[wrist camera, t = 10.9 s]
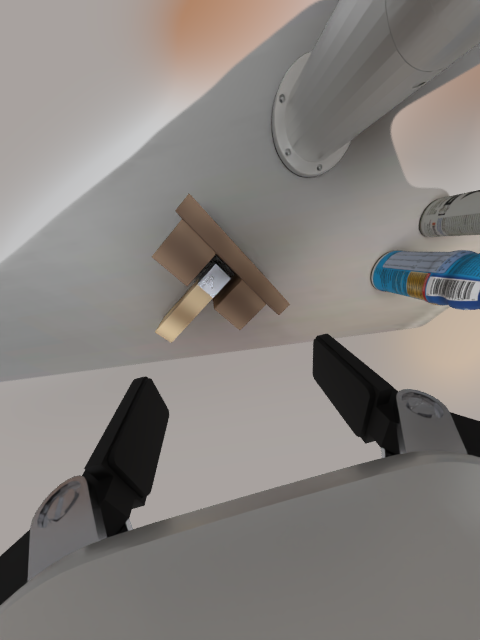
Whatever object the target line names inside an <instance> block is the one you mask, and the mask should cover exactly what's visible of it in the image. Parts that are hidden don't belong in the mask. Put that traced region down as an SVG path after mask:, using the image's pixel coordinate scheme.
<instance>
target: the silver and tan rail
mask: <svg viewBox="0 0 480 640" xmlns="http://www.w3.org/2000/svg"><path fill="white" fill-rule="evenodd" d="M230 279H231V278H230V277H229V276H228V274H227V273H226V272H225V271H224V270H223V269H222V268H221V267H220V266H219V265H218V264H217V263H216V262H215V261H214V262H213V263H212V264H211V265H210V266H209V267H208V268H207V270H206V271H205V272H204V273H203V274H202V275H201V276H200V277H199V279H198V280H197V281H196V282H195V283H194V284H193V285H192V286H191V288H190V289H189V290H188V291H187V292H186V293H185V294H184V295H183V297H182V298H181V299H180V300H179V301H178V302H177V303H176V304H175V306H174V307H173V308H172V309H171V310H170V311H169V312H168V313H167V315H166V316H165V317H164V318H163V320H162V321H161V323H160V324H159V326H158V328H157V329H156V331H155V333H157V334H158V335H160V336H162V337H163V338H165V339H166V340H168V341H169V342H171V343H172V342H173V341H174V339H175V338H176V337H177V336H178V335H179V334H180V333H181V332H182V331H183V330H184V329H185V328H186V327H187V325H188V324H189V323H190V322H191V321H192V320H193V319H194V318H195V317H196V316H197V315H198V314H199V313H200V311H201V310H202V309H203V308H204V307H205V306H206V305H207V304H208V303H209V302H210V301H211V300H212V299H213V297H214V296H215V295H216V294H217V293H218V292H219V291H220V290H221V289H222V288H223V287H224V286H225V285H226V283H227V282H228V281H229V280H230Z"/></svg>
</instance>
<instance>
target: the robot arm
mask: <svg viewBox="0 0 480 640" xmlns="http://www.w3.org/2000/svg"><path fill="white" fill-rule="evenodd" d="M479 43H480V0H339V2H338V4H337V6H336V8H335V9H334V11H333V13H332V15H331V17H330V19H329V21H328V23H327V24H326V26H325V28H324V30H323V32H322V34H321V36H320V37H319V39H318V41H317V43H316V45H315V47H314V49H313V51H311V52H308V53H306V54H304V55H303V56H301V57H299V58H298V59H297V60H296V61H295V62H294V63H293V64H292V65H291V66H290V68H289V69H288V71H287V72H286V74H285V75H284V77H283V80H282V82H281V84H280V86H279V88H278V91H277V94H276V97H275V101H274V106H273V111H272V133H273V138H274V143H275V146H276V149H277V152H278V154H279V156H280V158H281V160H282V161H283V163H284V164H285V165H286V166H287V168H288V169H290V170H291V171H292V172H293V173H295V174H297V175H299V176H303V177H316V176H319V175H321V174H323V173H325V172H327V171H328V170H330V169H331V168H332V167H334V166H335V165H336V164H337V163H338V162H339V161H340V160H341V158H342V157H343V155H344V154H345V152H346V151H347V149H348V147H349V145H350V143H351V140H352V139H353V138H354V137H356V136H357V135H358V134H360V133H361V132H362V131H364V130H365V129H366V128H368V127H369V126H370V125H372V124H373V123H374V122H376V121H377V120H378V119H380V118H381V117H382V116H384V115H385V114H386V113H388V112H389V111H390V110H391V109H393V108H394V107H395V106H397V105H398V104H399V103H401V102H402V101H403V100H405V99H406V98H407V97H409V96H410V95H411V94H413V93H414V92H415V91H417V90H418V89H419V88H421V87H422V86H423V85H425V84H426V83H427V82H429V81H430V80H431V79H433V78H434V77H435V76H437V75H438V74H439V73H441V72H442V71H443V70H445V69H446V68H447V67H449V66H450V65H451V64H453V63H454V62H455V61H456V60H458V59H459V58H460V57H462V56H463V55H464V54H466V53H467V52H468V51H470V50H471V49H472V48H473V47H475V46H476V45H477V44H479ZM280 102H281V103H280ZM286 154H287V156H286ZM313 377H314V379H315V380H316V382H317V383H318V385H319V386H320V387H321V389H322V390H323V391H324V393H325V394H326V395H327V397H328V398H329V399H330V401H331V402H332V404H333V405H334V406H335V408H336V409H337V410H338V412H339V413H340V415H341V416H342V417H343V419H344V420H345V421H346V423H347V424H348V425H349V427H350V428H351V429H352V431H353V432H354V433H355V435H356V436H358V437H361V438H362V440H363V441H364V442H365V443H369V442H373V441H376V442H377V443H378V445H379V446H380V447H381V452H382V458H381V459H377V460H374V461H370V462H366V463H362V464H358V465H354V466H351V467H347V468H343V469H340V470H336V471H333V472H329V473H326V474H322V475H319V476H315V477H311V478H308V479H305V480H301V481H297V482H294V483H290V484H287V485H283V486H280V487H276V488H273V489H269V490H266V491H262V492H259V493H255V494H252V495H248V496H245V497H241V498H238V499H235V500H231V501H228V502H224V503H220V504H217V505H213V506H210V507H207V508H203V509H200V510H196V511H193V512H190V513H186V514H183V515H179V516H176V517H173V518H169V519H166V520H162V521H159V522H155V523H152V524H149V525H146V526H143V527H140V528H136V529H133V528H132V525H131V523H130V520H129V517H130V513H131V510H132V509H133V508H137V507H140V506H144V505H145V501H146V497H147V495H149V494H150V492H151V489H152V485H153V481H154V477H155V472H156V468H157V464H158V460H159V455H160V452H161V447H162V443H163V439H164V435H165V431H166V427H167V423H168V418H169V410H168V409H167V406H166V404H165V403H164V401H163V399H162V397H161V396H160V394H159V392H158V390H157V388H156V386H155V385H154V383H153V381H152V379H150V378H149V379H148V377H141V378H137V379H134V380H133V382H132V384H131V385H130V387H129V389H128V391H127V393H126V394H125V396H124V398H123V400H122V401H121V403H120V405H119V407H118V409H117V410H116V412H115V414H114V416H113V418H112V419H111V421H110V423H109V425H108V427H107V429H106V430H105V432H104V434H103V436H102V437H101V439H100V441H99V443H98V445H97V446H96V448H95V450H94V452H93V454H92V455H91V457H90V459H89V461H88V463H87V465H86V466H85V472H84V473H83V475H82V476H80V475H79V476H74V477H72V478H70V479H68V480H66V481H65V482H63V483H62V484H60V485H59V486H58V487H57V488H56V489H55V490H53V491H52V492H51V493H50V494H49V496H48V497H47V498H46V499H45V500H44V501H43V503H42V504H41V505H40V507H39V508H38V510H37V511H36V513H35V515H34V517H33V519H32V523H31V528H30V530H29V531H28V532H27V533H26V534H24V535H23V536H22V537H21V538H20V539H19V540H18V541H17V542H16V543H15V544H13V545H12V546H11V547H10V548H9V549H8V550H7V551H6V552H5V553H3V554H2V555H1V556H0V640H480V421H477V420H473V419H470V418H467V417H464V416H460V415H457V414H454V413H451V412H449V411H448V409H447V408H446V406H445V405H444V404H443V403H442V402H440V401H439V400H438V399H436V398H435V397H433V396H431V395H429V394H427V393H424V392H421V391H418V390H412V389H404V390H401V391H399V392H398V391H397V390H396V389H394V388H393V387H392V386H391V385H390V384H389V383H388V382H386V381H385V380H384V379H383V378H381V377H380V376H379V375H378V374H377V373H375V372H374V371H373V370H372V369H370V368H369V367H368V366H367V365H365V364H364V363H363V362H362V361H361V360H359V359H358V358H357V357H356V356H354V355H353V354H352V353H351V352H349V351H348V350H347V349H346V348H344V347H343V346H342V345H341V344H340V343H338V342H337V341H336V340H335V339H334V338H332V337H331V336H330V335H329V334H323V335H319V336H317V337H316V339H314V343H313Z"/></svg>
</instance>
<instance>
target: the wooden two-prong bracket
mask: <svg viewBox="0 0 480 640" xmlns="http://www.w3.org/2000/svg"><path fill="white" fill-rule="evenodd" d="M175 211H176V212H177V213H178V215H179V216H180V217H181V218H182V220H181V221H180V222H179V224H178V225H177V226H176V227H175V229H174V230H173V231H172V232H171V233H170V235H169V236H168V237H167V238H166V240H165V241H164V242H163V243H162V245H161V246H160V247H159V248H158V250H157V251H156V252H155V253H154V254H153V256H152V258H154V259H155V260H156V261H157V262H158V263H160V264H161V265H162V266H163V267H164V268H166V269H167V270H168V271H169V272H170V273H172V274H173V275H174V276H175V277H176V278H178V279H179V280H180V281H181V282H182V283H184V284H185V285H186V286H188V285H189V284H190V283H191V282H192V280H193V279H194V278H195V277H196V276H197V275H198V274H199V273H200V271H201V270H202V269H203V268H204V267H205V266H206V265H207V263H208V262H209V261H210V260H211V259H212V258H213V257H214V256H215V254H216V255H217V256H218V257H219V258H220V259H221V260H222V261H223V262H224V263H225V264H226V265H227V266H228V267H229V268H230V269H231V270H232V271H233V272H234V273H235V274H234V275H233V276H232V277H231V279H230V280H229V281H228V282H227V283H226V285H225V286H224V287H223V288H222V289H221V290H220V291H219V292H218V293H217V294H216V295H215V296H214V297H213V302H214V309H215V310H216V311H217V312H218V313H220V314H221V315H222V316H223V317H224V318H226V319H227V320H228V321H229V322H230V323H232V324H233V325H234V326H235V327H236V328H238V329H239V330H241V329H242V328H243V327H244V326H245V325H246V324H247V323H248V322H249V321H250V320H251V319H252V318H253V317H254V316H255V315H256V314H257V313H258V312H259V311H260V310H261V309H262V308H263V307H264V306H265V305H266V304H267V305H268V306H269V307H270V308H271V309H273V310H274V311H275V312H276V313H277V314H278V315H280V314H281V313H282V312H283V311H284V310H285V309H286V308H287V307H288V306H289V305H290V304H289V303H288V301H287V300H286V299H285V298H284V297H283V296H282V295H281V294H280V293H279V292H278V290H277V289H276V288H275V287H274V286H273V285H272V284H271V283H270V282H269V281H268V279H267V278H266V277H265V276H264V275H263V274H262V273H261V272H260V271H259V270H258V268H257V267H256V266H255V265H254V264H253V263H252V262H251V261H250V260H249V259H248V257H247V256H246V255H245V254H244V253H243V252H242V251H241V250H240V249H239V248H238V247H237V245H236V244H235V243H234V242H233V241H232V240H231V239H230V238H229V237H228V236H227V234H226V233H225V232H224V231H223V230H222V229H221V228H220V227H219V226H218V225H217V223H216V222H215V221H214V220H213V219H212V218H211V217H210V216H209V215H208V214H207V212H206V211H205V210H204V209H203V208H202V207H201V206H200V205H199V204H198V203H197V201H196V200H195V199H194V198H193V197H192V196H191V195H190V194H188V195H187V197H186V198H185V199H184V200H183V202H182V203H181V204H180V205H179V207H178V208H177V209H176V210H175Z"/></svg>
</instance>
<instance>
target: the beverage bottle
mask: <svg viewBox="0 0 480 640" xmlns="http://www.w3.org/2000/svg"><path fill="white" fill-rule="evenodd" d="M371 280H372V284H373V286H374V287H375V288H376V289H378V290H380V291H385V292H391V293H396V294H400V295H404V296H408V297H412V298H416V299H420V300H424V301H426V302H428V303H431V304H435V305H449V306H450V307H452V308H455V309H462V310H475V309H480V253H479V254H477V253H475V252H473V251H465V250H458V251H453V252H407V251H392V252H389V253H387V254H385V255H384V256H383V257H381V258H380V259H379V261H378V262H377V263H376V265H375V266H374V269H373V271H372V276H371Z"/></svg>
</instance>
